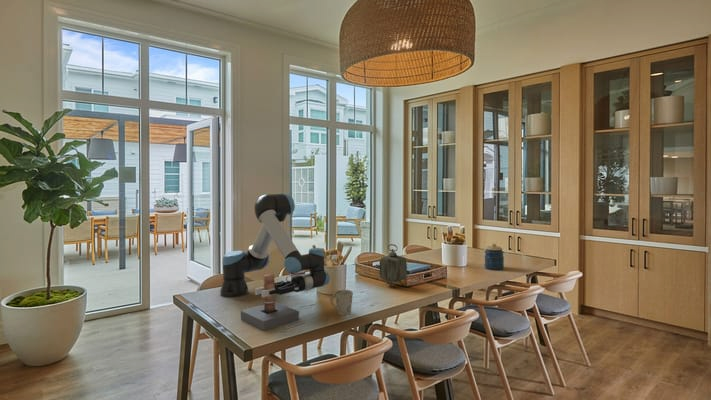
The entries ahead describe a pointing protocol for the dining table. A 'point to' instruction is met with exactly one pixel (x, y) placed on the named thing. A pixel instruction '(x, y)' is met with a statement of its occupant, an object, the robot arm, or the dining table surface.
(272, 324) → the board
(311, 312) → the dining table surface
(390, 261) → the tabletop clock
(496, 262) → the canister
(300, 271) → the teacup with lid
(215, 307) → the dining table surface
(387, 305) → the dining table surface
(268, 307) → the peg
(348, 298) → the mug
